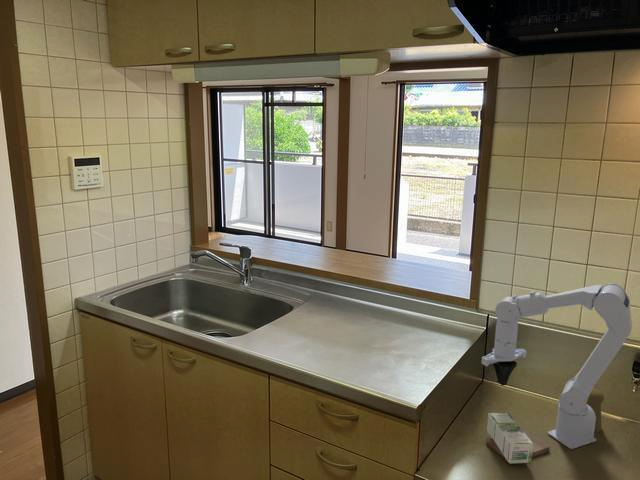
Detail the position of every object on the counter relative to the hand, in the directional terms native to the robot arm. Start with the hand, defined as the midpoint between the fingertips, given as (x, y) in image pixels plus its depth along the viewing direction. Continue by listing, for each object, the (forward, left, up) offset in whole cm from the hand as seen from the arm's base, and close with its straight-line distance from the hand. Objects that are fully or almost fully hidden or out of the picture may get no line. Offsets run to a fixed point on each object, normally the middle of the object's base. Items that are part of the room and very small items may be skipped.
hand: (501, 383), depth 149 cm
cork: (-20, +14, -11) cm, 27 cm away
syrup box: (+7, +7, -6) cm, 12 cm away
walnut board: (+6, +14, -10) cm, 18 cm away
